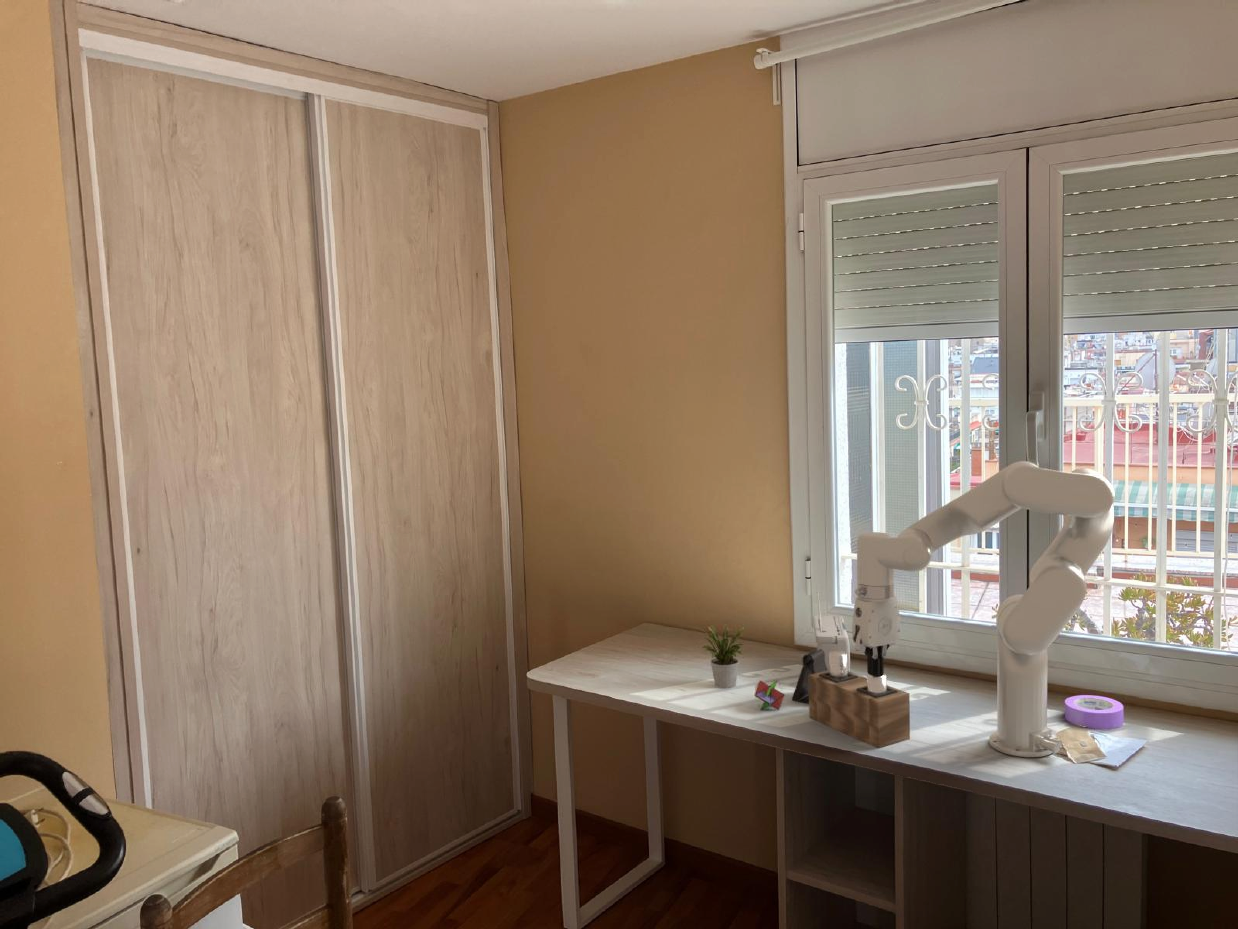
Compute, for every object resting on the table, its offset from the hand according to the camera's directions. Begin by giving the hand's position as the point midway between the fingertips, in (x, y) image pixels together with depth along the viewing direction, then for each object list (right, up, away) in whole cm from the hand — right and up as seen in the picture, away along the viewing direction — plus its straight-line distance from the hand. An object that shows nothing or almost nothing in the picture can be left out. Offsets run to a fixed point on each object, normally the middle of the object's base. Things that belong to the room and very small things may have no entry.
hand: (875, 674), depth 212 cm
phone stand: (-8, -12, +25) cm, 29 cm away
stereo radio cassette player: (0, -10, +43) cm, 44 cm away
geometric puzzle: (-19, -13, +21) cm, 31 cm away
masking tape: (+50, -12, +6) cm, 51 cm away
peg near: (+1, -9, +1) cm, 9 cm away
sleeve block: (-2, -13, +7) cm, 15 cm away
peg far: (-5, -6, +11) cm, 14 cm away
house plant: (-29, -11, +38) cm, 49 cm away
